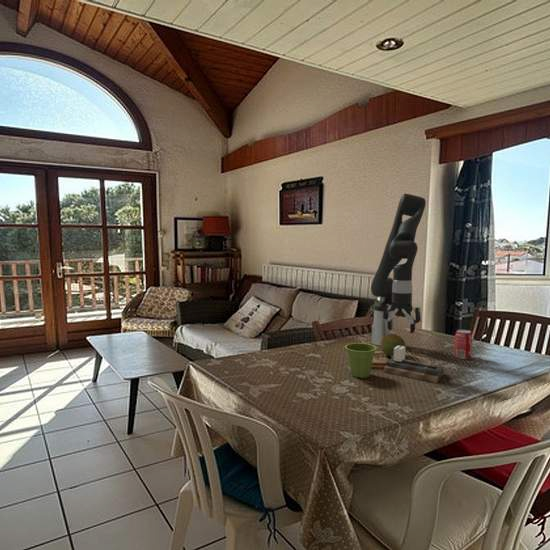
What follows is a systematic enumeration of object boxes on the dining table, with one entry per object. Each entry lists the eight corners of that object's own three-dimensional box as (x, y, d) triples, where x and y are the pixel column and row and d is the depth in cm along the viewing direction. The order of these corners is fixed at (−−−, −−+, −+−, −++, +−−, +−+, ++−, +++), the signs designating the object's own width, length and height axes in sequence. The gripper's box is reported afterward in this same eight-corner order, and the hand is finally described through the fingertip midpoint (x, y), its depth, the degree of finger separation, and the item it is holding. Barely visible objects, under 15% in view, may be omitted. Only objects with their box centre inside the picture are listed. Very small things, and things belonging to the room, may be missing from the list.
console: (383, 372, 157) (383, 362, 156) (394, 364, 166) (394, 355, 166) (435, 383, 145) (436, 373, 144) (444, 374, 154) (445, 364, 154)
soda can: (467, 355, 179) (469, 329, 177) (474, 360, 172) (475, 333, 170) (451, 355, 179) (452, 329, 178) (457, 359, 172) (458, 332, 171)
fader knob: (393, 365, 158) (393, 347, 157) (397, 362, 162) (398, 344, 161) (400, 366, 156) (401, 348, 155) (404, 363, 160) (405, 346, 159)
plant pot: (355, 368, 162) (356, 341, 161) (381, 375, 153) (382, 346, 152) (338, 375, 153) (338, 346, 152) (364, 383, 145) (365, 353, 144)
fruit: (396, 351, 185) (397, 330, 184) (413, 359, 173) (414, 337, 172) (374, 354, 181) (375, 332, 180) (390, 362, 169) (391, 339, 168)
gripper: (381, 291, 157) (380, 330, 159) (417, 293, 149) (416, 335, 150) (388, 289, 163) (387, 327, 165) (423, 291, 155) (422, 332, 156)
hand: (401, 331), depth 158 cm, fingers open, 8 cm apart
